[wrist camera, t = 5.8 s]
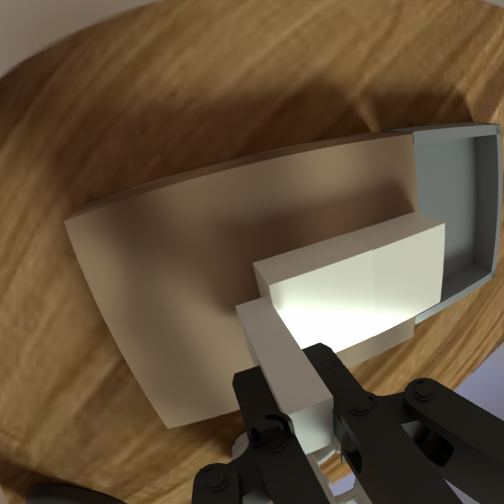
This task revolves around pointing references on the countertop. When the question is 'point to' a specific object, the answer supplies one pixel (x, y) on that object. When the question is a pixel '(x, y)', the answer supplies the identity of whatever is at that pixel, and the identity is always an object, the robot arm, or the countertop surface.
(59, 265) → the countertop surface
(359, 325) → the tile
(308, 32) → the countertop surface
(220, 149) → the countertop surface
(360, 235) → the tile
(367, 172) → the board
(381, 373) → the countertop surface
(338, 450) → the mug
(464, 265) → the tray
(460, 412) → the robot arm
